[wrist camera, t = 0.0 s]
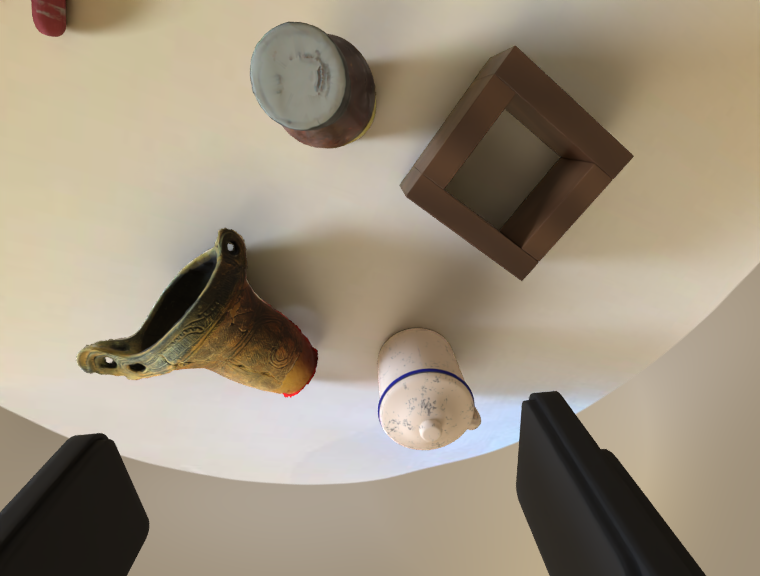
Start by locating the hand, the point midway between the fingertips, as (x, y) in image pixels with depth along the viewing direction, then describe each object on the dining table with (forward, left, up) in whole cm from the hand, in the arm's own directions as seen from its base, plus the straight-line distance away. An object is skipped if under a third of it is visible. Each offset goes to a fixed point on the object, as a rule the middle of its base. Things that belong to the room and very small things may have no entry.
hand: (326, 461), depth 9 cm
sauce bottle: (-6, -6, -31) cm, 33 cm away
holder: (-10, +9, -31) cm, 34 cm away
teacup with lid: (+11, +17, -31) cm, 37 cm away
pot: (+17, -5, -31) cm, 36 cm away
